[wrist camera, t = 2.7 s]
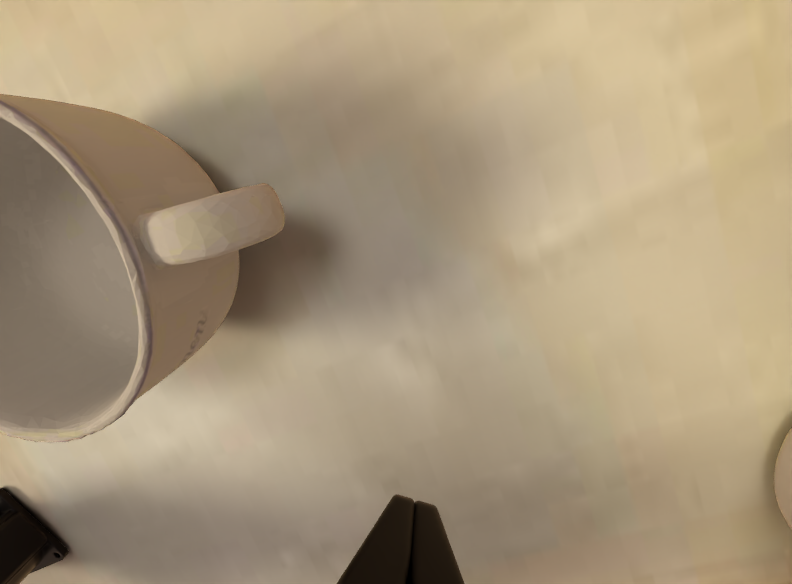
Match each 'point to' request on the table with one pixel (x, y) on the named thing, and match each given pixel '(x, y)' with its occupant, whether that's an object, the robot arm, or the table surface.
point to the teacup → (107, 263)
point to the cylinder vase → (784, 478)
